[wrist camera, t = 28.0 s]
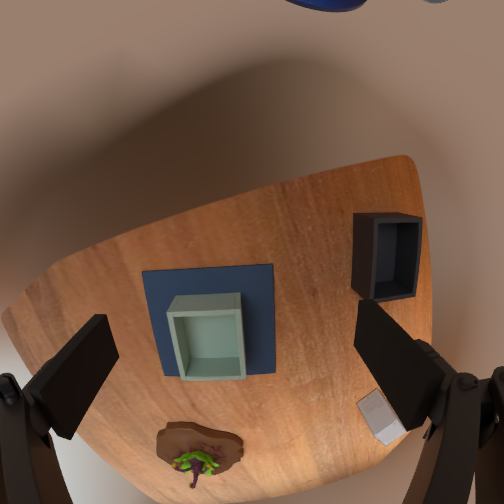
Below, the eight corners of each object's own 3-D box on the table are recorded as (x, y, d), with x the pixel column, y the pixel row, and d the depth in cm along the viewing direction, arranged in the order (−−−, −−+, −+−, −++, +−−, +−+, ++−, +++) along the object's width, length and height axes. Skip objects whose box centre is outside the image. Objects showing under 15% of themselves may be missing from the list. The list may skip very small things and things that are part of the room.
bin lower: (353, 213, 39) (373, 218, 33) (398, 212, 40) (422, 217, 33) (350, 287, 42) (368, 304, 35) (393, 282, 42) (415, 296, 36)
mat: (142, 271, 40) (141, 271, 39) (272, 263, 41) (272, 264, 40) (165, 374, 45) (164, 376, 44) (275, 371, 45) (275, 372, 45)
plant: (149, 452, 51) (141, 485, 40) (166, 412, 47) (155, 452, 36) (223, 473, 53) (222, 506, 42) (254, 437, 50) (257, 477, 39)
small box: (355, 402, 49) (372, 435, 38) (377, 387, 48) (397, 419, 38) (369, 416, 50) (385, 447, 40) (388, 402, 50) (407, 432, 39)
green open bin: (175, 295, 41) (166, 312, 35) (240, 292, 41) (240, 308, 35) (187, 359, 43) (181, 380, 37) (245, 357, 44) (246, 379, 38)
